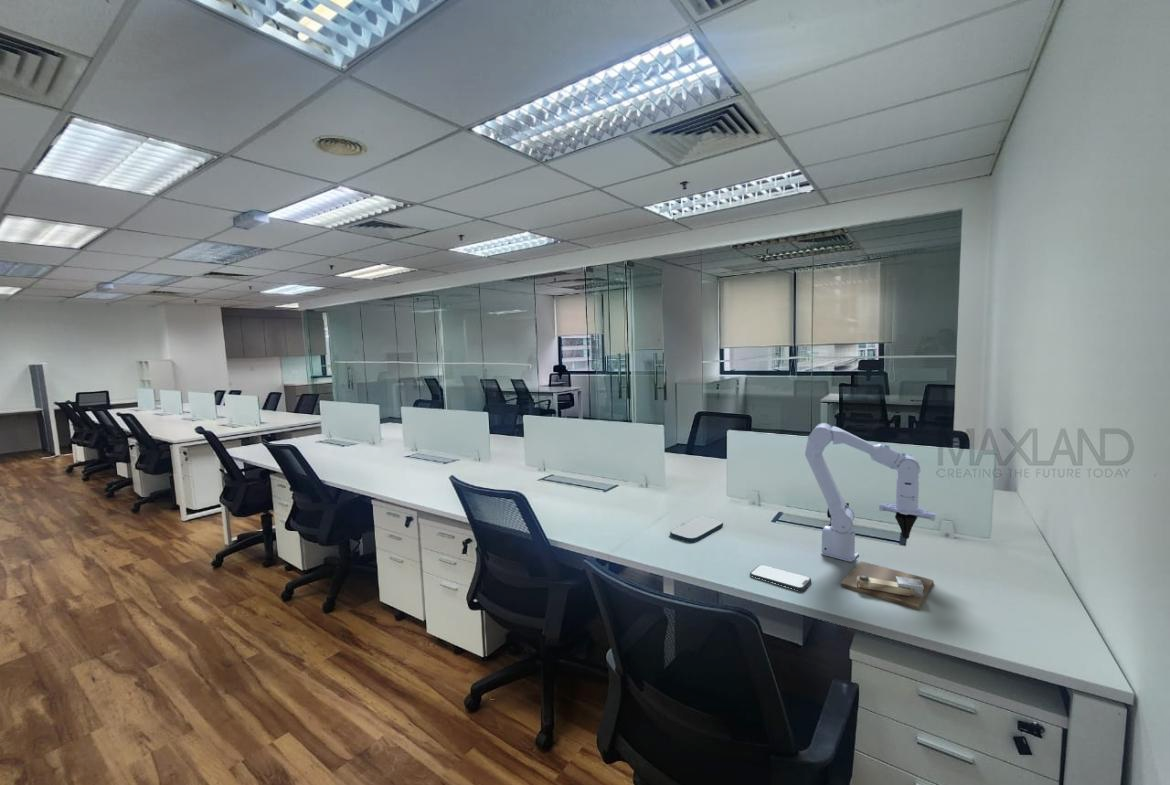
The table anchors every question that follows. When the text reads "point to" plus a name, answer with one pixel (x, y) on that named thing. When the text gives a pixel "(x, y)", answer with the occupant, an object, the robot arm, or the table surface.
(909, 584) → the keeper
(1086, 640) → the table surface
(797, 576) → the phone case
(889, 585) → the pivot link
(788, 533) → the table surface
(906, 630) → the table surface
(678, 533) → the external hard drive
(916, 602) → the walnut board
